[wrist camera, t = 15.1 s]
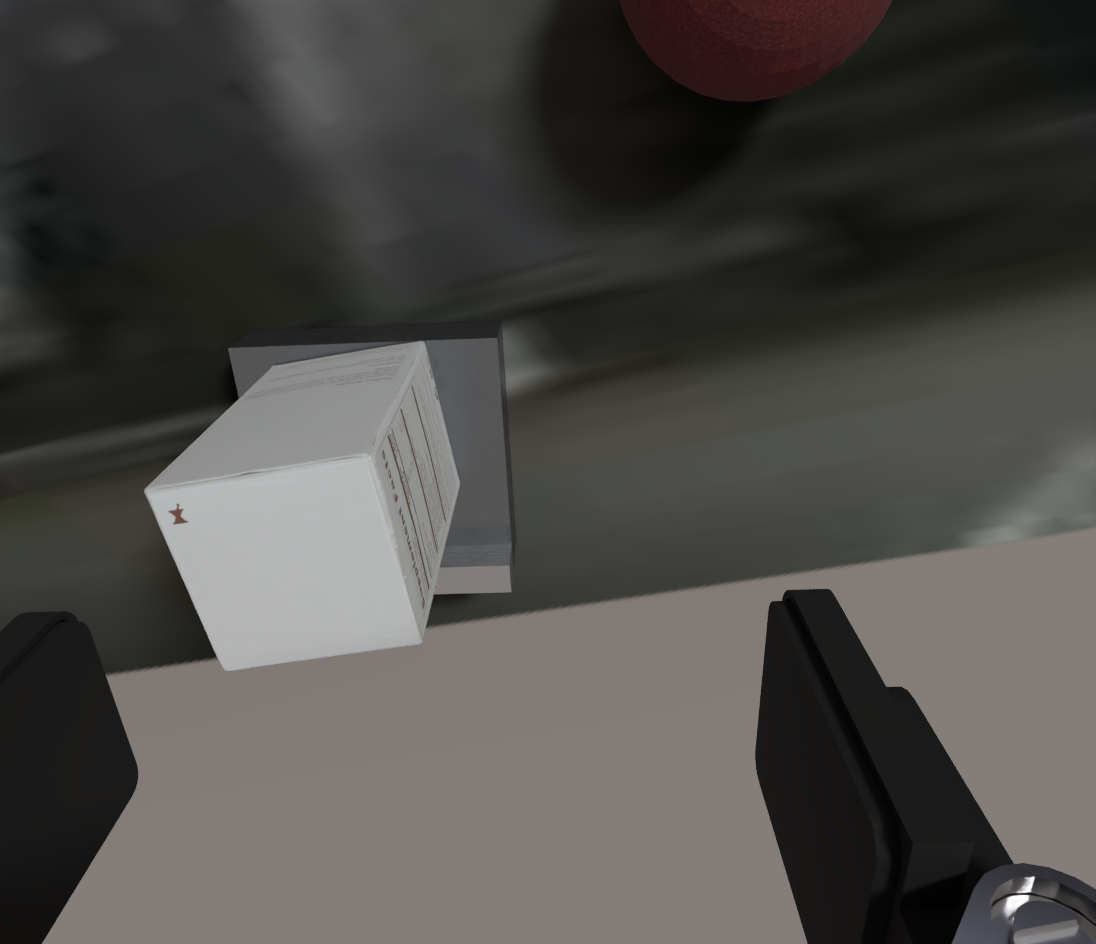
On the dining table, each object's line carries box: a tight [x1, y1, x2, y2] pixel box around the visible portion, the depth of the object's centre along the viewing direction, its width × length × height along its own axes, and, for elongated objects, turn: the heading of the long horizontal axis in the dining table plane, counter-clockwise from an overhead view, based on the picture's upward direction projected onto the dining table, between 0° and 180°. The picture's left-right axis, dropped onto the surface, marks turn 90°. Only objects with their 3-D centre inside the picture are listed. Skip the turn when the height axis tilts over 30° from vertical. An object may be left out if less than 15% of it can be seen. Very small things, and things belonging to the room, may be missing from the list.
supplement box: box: [144, 341, 460, 671], centre depth 31 cm, size 7×7×13 cm
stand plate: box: [228, 321, 516, 594], centre depth 38 cm, size 12×12×5 cm
